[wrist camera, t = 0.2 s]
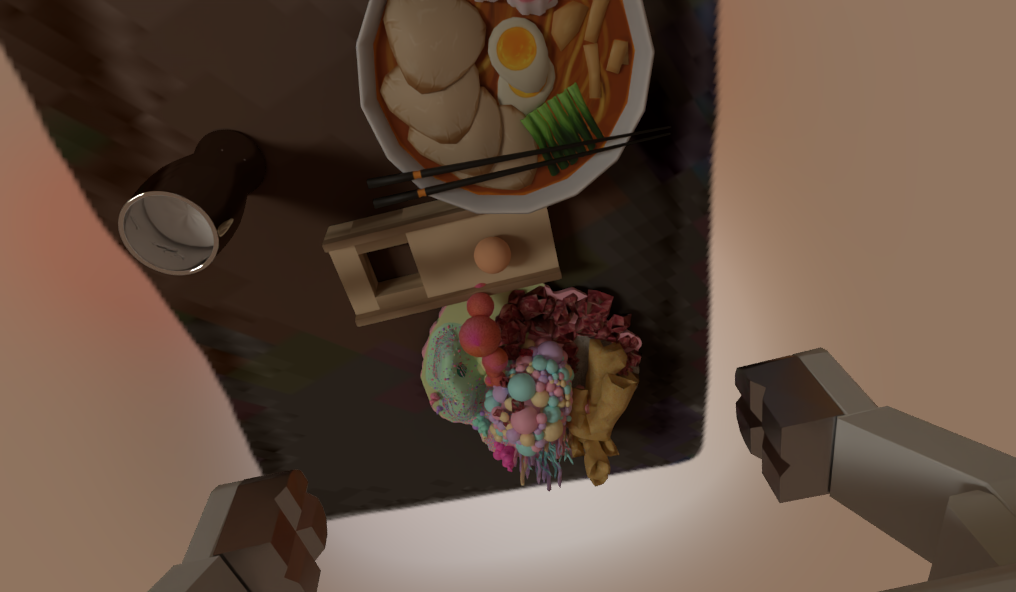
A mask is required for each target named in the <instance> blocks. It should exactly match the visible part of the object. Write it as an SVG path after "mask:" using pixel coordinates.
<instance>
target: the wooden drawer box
mask: <svg viewBox="0 0 1016 592" xmlns="http://www.w3.org/2000/svg"><path fill="white" fill-rule="evenodd" d="M487 237H498V238H501V239H502V240H504V241H505V242H506V243H507V244H508V246H509V248H510V251H511V260H510V263H509V265H508V266H507V267H506V268H505V269H504V270H503V271H501V272H499V273H496V274H489V273H486V272H484V271H482V270H481V269H480V268H479V267H478V266H477V264H476V263H475V259H474V251H475V248H476V246H477V244H478V243H479V242H480V241H481V240H483V239H484V238H487ZM408 242H409V245H410V248H411V251H412V254H413V257H414V259H415V262H416V265H417V268H418V271H419V273H415V274H411V275H407V276H402V277H398V278H394V279H390V280H386V281H382V282H378V281H377V278H376V276H375V273H374V271H373V268H372V266H371V263H370V261H369V258H368V256H367V252H371V251H375V250H379V249H384V248H388V247H392V246H396V245H400V244H404V243H408ZM322 246H323V249H324V251H325V253H326V252H329V253H330V256H331V258H332V260H333V263H334V265H335V267H336V270H337V272H338V274H339V277H340V279H341V281H342V283H343V286H344V288H345V290H346V293H347V295H348V297H349V300H350V302H351V304H352V306H353V309H354V311H355V313H356V318H355V322H356V324H357V326H358V327H360V326H364V325H368V324H372V323H376V322H381V321H385V320H389V319H393V318H398V317H402V316H406V315H410V314H414V313H419V312H423V311H427V310H431V309H436V308H440V307H444V306H448V305H452V304H457V303H461V302H465V301H468V299H469V298H470V297H471V296H472V295H473V294H475V293H480V292H483V293H486V294H488V295H489V296H490V295H495V294H499V293H503V292H507V291H511V290H516V289H520V288H524V287H528V286H533V285H537V284H541V283H545V282H549V281H554V280H558V279H562V276H561V272H560V268H559V265H558V260H557V255H556V250H555V245H554V240H553V235H552V230H551V225H550V220H549V216H548V211H547V207H545V208H543V209H540V210H538V211H535V212H532V213H530V214H476V213H473V212H471V211H468V210H465V209H463V208H460V207H457V206H455V205H452V204H449V203H446V202H444V201H441V200H436V201H432V202H427V203H423V204H419V205H415V206H411V207H407V208H403V209H399V210H395V211H391V212H387V213H382V214H378V215H374V216H370V217H366V218H362V219H358V220H354V221H350V222H346V223H342V224H337V225H333V226H329V228H328V230H327V233H326V236H325V239H324V241H323V244H322ZM479 283H485V284H486V285H485V286H483V287H480V288H475V287H474V286H476V285H477V284H479Z"/></svg>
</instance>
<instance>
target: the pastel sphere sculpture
mask: <svg viewBox="0 0 1016 592" xmlns="http://www.w3.org/2000/svg"><path fill="white" fill-rule="evenodd" d="M485 285H486V284H485V283H479V284H477V285H476V286H474V287H475V288H480V287H483V286H485ZM612 301H613V296H611V295H608V294H605V293H602V292H600V291H596V290H589V289H588V291H587V293H584V292H582V291H580V290H577V289H576V288H574V287H570V288H567V289H563V290H560V291H552V290H551V288H550V286H548V285H545V283H541V284H537V285H533V286H528V287H524V288H520V289H516V290H511V291H507V292H503V293H499V294H495V295H490V296H489V295H488V294H486V293H483V292H480V293H475V294H473V295H472V296H471V297H470V298H469V299H468V301H465V302H461V303H457V304H452V305H448V306H444V307H442V309H441V310H440V312H439V318H438V320H437V321H435V322H434V323H433V325H432V327H431V328H430V336H429V338H428V340H427V342H426V343H425V345H424V347H423V349H422V356H423V358H424V360H423V362H422V370H421V379H422V382H423V385H424V388H425V390H426V393H427V395H428V398H429V400H430V404H431V406H432V408H433V410H434V411H435V412H436V413H437V414H438V413H439V414H440V416H441V417H442V418H445V419H447V420H449V421H451V422H454V423H457V422H461V423H464V424H471V425H472V427H473V429H475V430H478V432H479V433H480V436H481V438H482V441H483V442H485V444H487V445H488V448H489V450H491V451H493V456H494V458H495V459H496V460H501V459H502V460H503V462H502V464H503V466H504V467H507V468H508V471H511V472H512V468H513V466H514V467H516V464H517V456H519V457H520V472H521V476H520V479H521V485H524V477H525V473H526V477H527V479H528V476H529V472H530V469H531V468H530V466H531V465H535V471H536V472H537V482H538V484H539V483H540V479H541V470H542V468H543V472H542V479H543V481H544V482H545V478H546V475H547V490H548V491H550V490H551V480H550V479H551V476H552V474H551V473H550V470H549V466H548V463H547V461H546V458H548V459H549V461H551V466H552V465H553V466H554V469H555V474H554V476H555V477H556V474H557V468H558V471H559V473H558V485H559V487H560V486H561V482H562V470H561V466H560V463H557V461H556V458H557V459H559V458H560V459H559V462H560V460H561V457H562V456H564V455H565V457H564V461H565V459H566V457H567V456H568V457H569V459H570V461H571V463H572V464H573V461H572V459H573V457H578V456H584V455H585V453H584V451H585V452H586V455H585V457H584V460H585V467H586V471H587V475H588V478H590V480H591V481H592V483H593V484H594V485H595V486H598V485H601V484H604V482H605V481H606V480H607V479H608V474H610V464H609V461H608V457H607V456H615V455H619V452H618V450H617V448H616V446H615V444H614V443H613V441H612V440H611V438H610V436H611V432H612V429H613V427H614V425H615V423H616V421H617V420H618V419H619V417H620V416H621V415H622V413H623V412H624V411H625V409H626V408H627V406H628V403H629V401H630V399H631V397H632V395H633V393H634V391H635V390H636V389H637V386H638V383H639V375H638V374H639V367H638V365H639V363H640V361H641V355H642V353H640V352H638V350H639V348H640V347H641V345H642V342H641V340H640V338H639V337H638V335H637V334H634V333H632V332H630V331H629V330H626V329H627V328H628V327H629V326H630V321H631V314H614V315H613V316H612V317H611V319H610V320H609V321H608V320H607V317H608V316H609V312H610V308H611V304H612ZM568 453H569V454H570V455H569V454H568ZM560 456H561V457H560ZM571 457H572V459H571ZM530 459H531V462H530ZM535 459H536V460H535ZM536 462H537V464H536ZM541 462H542V464H543V466H542V465H541ZM573 465H574V464H573ZM536 466H537V467H536ZM541 467H542V468H541ZM531 470H532V469H531Z"/></svg>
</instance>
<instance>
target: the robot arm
mask: <svg viewBox="0 0 1016 592" xmlns="http://www.w3.org/2000/svg"><path fill="white" fill-rule="evenodd" d="M735 385H736V387H737V389H738V390H739V392H740V393H741V397H740V398H739V400H738V401H737V402H736V414H737V420H738V424H739V428H740V432H741V434H742V437H743V439H744V441H745V444H746V445H747V447H748V449H749V451H750V453H751V454H753V455H755V456H757V457H758V458H761V459H762V474H763V475H764V477H765V479H766V480H767V482H768V484H769V486H770V487H771V489H772V491H773V492H774V494H775V496H776V497H777V499H778V501H779V502H780V503H783V502H788V501H793V500H798V499H803V498H809V497H814V496H820V495H825V494H830V496H831V497H832V498H833V499H835V500H837V501H838V502H840V503H841V504H843V505H844V506H846V507H847V508H849V509H850V510H852V511H854V512H855V513H856V514H858V515H859V516H861V517H862V518H864V519H865V520H867V521H868V522H870V523H871V524H873V525H874V526H876V527H877V528H879V529H880V530H882V531H884V532H885V533H886V534H888V535H890V536H891V537H892V538H894V539H895V540H897V541H898V542H900V543H902V544H903V545H905V546H906V547H908V548H909V549H911V550H912V551H914V552H915V553H917V554H918V555H920V556H921V557H923V558H924V559H926V560H927V561H929V562H930V563H932V567H931V571H930V575H929V578H928V581H927V582H922V583H918V584H913V585H908V586H903V587H899V588H894V589H889V590H885V591H880V592H1016V458H1015V457H1013V456H1011V455H1008V454H1006V453H1003V452H1001V451H998V450H995V449H993V448H991V447H988V446H986V445H983V444H981V443H978V442H976V441H973V440H971V439H968V438H966V437H963V436H961V435H958V434H956V433H953V432H951V431H948V430H946V429H944V428H941V427H938V426H936V425H933V424H931V423H929V422H926V421H924V420H921V419H919V418H916V417H914V416H911V415H908V414H906V413H904V412H901V411H899V410H896V409H893V408H891V407H889V406H885V407H880V408H879V407H878V406H877V405H876V404H875V403H874V402H873V401H872V400H871V399H870V398H869V396H868V395H867V394H866V393H865V392H864V391H863V390H862V389H861V388H860V386H859V385H858V384H857V383H856V382H855V381H854V380H853V379H852V378H851V376H850V375H849V374H848V373H847V372H846V371H845V370H844V369H843V368H842V367H841V365H840V364H839V363H838V362H837V361H836V360H835V359H834V358H833V357H832V355H830V354H829V352H828V351H827V350H825V349H823V348H817V349H813V350H809V351H805V352H800V353H796V354H793V355H792V356H790V355H789V356H785V357H781V358H777V359H772V360H768V361H764V362H760V363H755V364H751V365H748V366H743V367H739V368H737V370H736V373H735ZM307 486H308V481H307V479H306V478H305V476H304V474H303V473H302V471H301V470H295V469H294V470H289V471H284V472H279V473H274V474H269V475H264V476H259V477H254V478H250V479H244V480H243V481H238V482H233V483H228V484H223V485H218V486H217V487H216V488H215V489H214V490H213V491H212V492H211V494H210V496H209V499H208V501H207V504H206V506H205V508H204V511H203V513H202V516H201V518H200V521H199V523H198V526H197V528H196V530H195V533H194V535H193V538H192V540H191V542H190V545H189V547H188V550H187V552H186V554H185V557H184V559H183V562H182V564H179V565H175V566H173V567H172V568H171V569H170V570H169V571H168V572H167V573H166V574H165V575H164V576H163V577H162V578H161V579H160V580H159V581H158V582H157V583H156V584H155V585H154V586H153V587H152V588H151V589H150V590H149V591H148V592H317V587H318V582H319V577H320V572H321V570H320V569H319V567H318V566H317V564H316V562H315V560H316V559H317V558H318V556H319V555H320V554H321V552H322V551H323V550H324V549H325V545H326V538H327V520H326V515H325V512H324V509H323V506H322V504H321V503H320V501H319V499H318V498H317V497H315V496H313V495H311V494H309V493H307V492H306V490H307Z"/></svg>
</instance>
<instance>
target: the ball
mask: <svg viewBox="0 0 1016 592" xmlns="http://www.w3.org/2000/svg"><path fill="white" fill-rule="evenodd" d="M474 259H475V263H476V264H477V266H478V267H479V268H480V269H481V270H482V271H484V272H486V273H489V274H496V273H499V272H501V271H503V270H504V269H505V268H506V267H507V266H508V265H509V263H510V260H511V251H510V248H509V246H508V244H507V243H506V242H505V241H504V240H502V239H501V238H498V237H487V238H484V239H483V240H481V241H480V242H479V243H478V244H477V246H476V248H475V251H474Z"/></svg>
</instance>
